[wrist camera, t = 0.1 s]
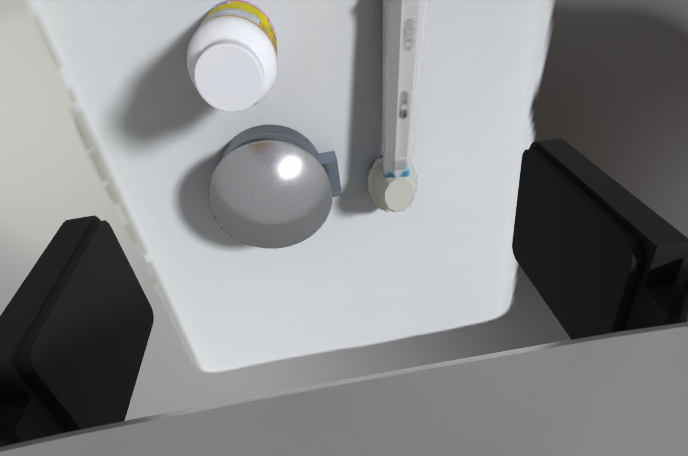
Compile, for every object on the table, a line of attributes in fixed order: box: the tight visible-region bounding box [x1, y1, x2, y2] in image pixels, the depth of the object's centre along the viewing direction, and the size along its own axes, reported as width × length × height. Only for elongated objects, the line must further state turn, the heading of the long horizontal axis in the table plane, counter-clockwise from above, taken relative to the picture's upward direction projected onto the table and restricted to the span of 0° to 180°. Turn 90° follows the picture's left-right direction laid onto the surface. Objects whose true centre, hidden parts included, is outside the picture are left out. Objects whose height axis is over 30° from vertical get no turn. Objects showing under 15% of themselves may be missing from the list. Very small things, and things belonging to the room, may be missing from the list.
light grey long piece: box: [368, 0, 428, 212], centre depth 45 cm, size 5×7×25 cm
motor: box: [208, 125, 342, 248], centre depth 48 cm, size 12×13×6 cm
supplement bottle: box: [187, 0, 277, 112], centre depth 37 cm, size 7×7×13 cm
